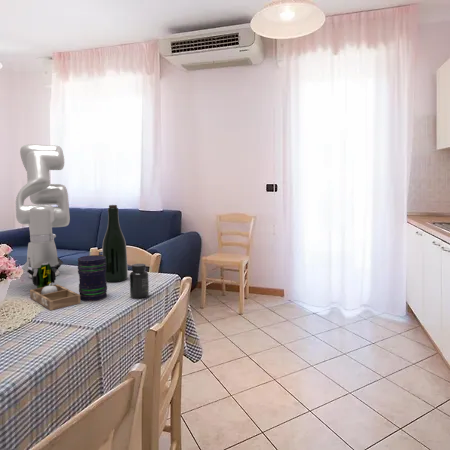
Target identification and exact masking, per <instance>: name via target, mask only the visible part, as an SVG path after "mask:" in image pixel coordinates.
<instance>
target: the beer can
mask: <svg viewBox="0 0 450 450" xmlns="http://www.w3.org/2000/svg"><path fill="white" fill-rule="evenodd" d="M37 276H38V283H39V285H38V286H36V289H37V288H42V287H46V286H49V284H50V283H51V285H50V286H52V285H53V283H52V276H51V266H50V264H49V263H47V262H43V264H42V265H41V267H40V268H38V271H37Z"/></svg>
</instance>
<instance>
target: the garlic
mask: <svg viewBox="0 0 450 450" xmlns="http://www.w3.org/2000/svg"><path fill="white" fill-rule="evenodd" d="M50 285H51V283H50V284H49V286H46V287H44V288H43V289H42V291H41V295H43V294H47V293H52V292H57V287H56V286H50Z"/></svg>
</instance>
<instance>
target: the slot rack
mask: <svg viewBox="0 0 450 450" xmlns="http://www.w3.org/2000/svg"><path fill="white" fill-rule="evenodd" d="M52 286H56V287H57V292H52V293H47V294H43V295H41V291H42V289H43V288H44V287H42V288H37V287H36V288H33V289H30V290H29V298H30V299H32V300H33V301H35V302H36V301H37V302H36V303H38V304H40V305H41V306H43V307H45V308H47V309H48V310H50V311H54V310H57V309H58V310H59V309H62V308H66V307H70V306H74V305H78V304H81V300H80V295H79V293H78V292H75V291H73V290H71V289H68V288H67V287H65V286H62V285H60V284H57V283H56V284H54V285H53V284H52Z"/></svg>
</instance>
